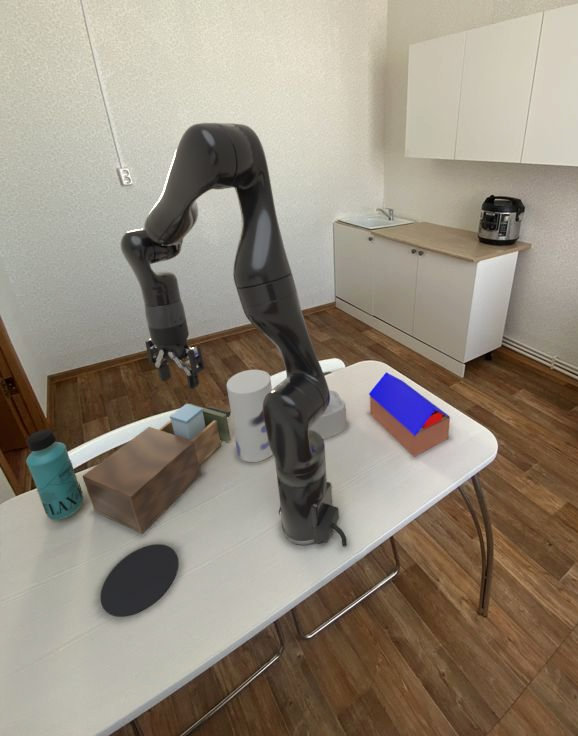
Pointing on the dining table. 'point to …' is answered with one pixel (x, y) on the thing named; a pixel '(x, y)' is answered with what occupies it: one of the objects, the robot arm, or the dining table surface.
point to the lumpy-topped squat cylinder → (332, 418)
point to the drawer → (208, 432)
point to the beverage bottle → (53, 475)
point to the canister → (188, 421)
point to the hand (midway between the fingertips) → (180, 383)
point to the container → (249, 413)
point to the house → (408, 415)
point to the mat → (139, 580)
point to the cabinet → (143, 478)
